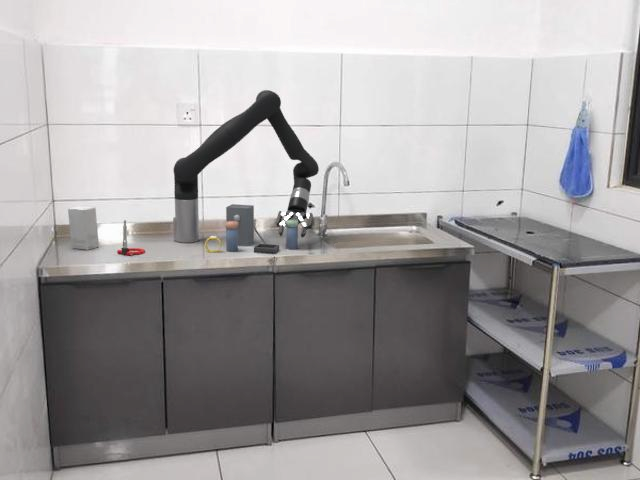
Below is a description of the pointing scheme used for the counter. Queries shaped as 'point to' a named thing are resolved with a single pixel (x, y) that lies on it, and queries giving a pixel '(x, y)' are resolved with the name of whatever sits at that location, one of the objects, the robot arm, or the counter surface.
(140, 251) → the tow hook
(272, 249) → the tray
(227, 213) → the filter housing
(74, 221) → the grey paper bag
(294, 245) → the green cap cartridge
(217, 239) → the watch
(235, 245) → the terracotta cap cartridge
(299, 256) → the counter surface
